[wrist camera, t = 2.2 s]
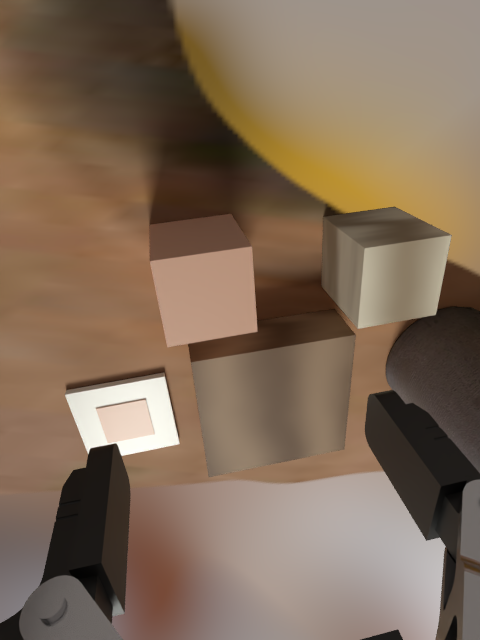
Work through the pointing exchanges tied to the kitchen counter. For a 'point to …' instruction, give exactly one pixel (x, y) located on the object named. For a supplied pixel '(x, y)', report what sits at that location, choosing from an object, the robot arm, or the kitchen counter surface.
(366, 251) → the birch block
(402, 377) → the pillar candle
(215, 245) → the terracotta block
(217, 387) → the walnut block
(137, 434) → the card
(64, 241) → the kitchen counter surface
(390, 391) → the robot arm
